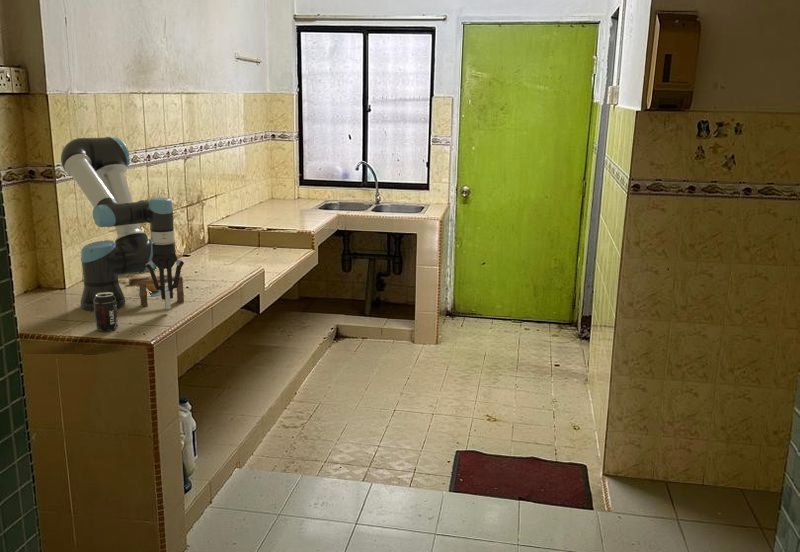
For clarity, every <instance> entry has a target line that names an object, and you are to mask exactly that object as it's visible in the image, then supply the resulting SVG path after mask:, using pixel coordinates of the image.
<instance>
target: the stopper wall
mask: <svg viewBox="0 0 800 552" xmlns="http://www.w3.org/2000/svg"><path fill="white" fill-rule="evenodd" d="M155 276H156V277H157V278H160V275H155ZM150 277H151V275H150V276H141V277H140V276H139V277H130V278H128V282H129V283H128V284H129V286H138V285H137V284H139V279H149V278H150ZM164 277H167V274H164Z"/></svg>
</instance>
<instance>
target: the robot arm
mask: <svg viewBox="0 0 800 552" xmlns="http://www.w3.org/2000/svg"><path fill="white" fill-rule="evenodd" d="M130 161H131V159H130V152H129V149H128V147H127V145H126V143H125V142H124V141H123V140H122V139H121V138H119V137H111V136H106V137H78V138H74V139H72V140H71V141H69V142H68V143H66V145H65V146H64V148H63V149H62V151H61V153H60V163H61V166H62V169H63V170H64V171H65V173H66V174H67V175H68V176H70V177H72V178H73V179H74V181H75V182H76V183H77V186H79V189H80V190H81V191H82V193H83V194H84V195H85V197H86V199H87V200H88V201H89V202H90V204H91V205H92V207H93V209H92V219H93V220H94V224H95V225H96V227H99V228H113V227H115V231H116V235H117V237H116V238H115V240H109V239H108V240H107V239H106V240H105V239H104V240H99V241H95V242H94V241H93V242H91V243H88V244H85V245H84V246H83V247H82V248H81V252H80V254H81V258H80V261H81V267H82V268H81V269H82V277H83V279H82V280H83V290H82V295H81V297H80V309H81V310H83V311H89V312H94V298H95V294H97V293H102V292H112V293H113V295H114V296H115V297H116V304H117V309H119V308H122V307H124V306H125V305H126V297H125V294H124V293H123V290H122V288H121V286H120V283H119V276H123V275H130V274H137V273H138V272H143V273H145V272H144V271H148V270H149V271H148V272H149V273H150V276H151V277H152V280H153V283H154V285H155V288H156V289H157V290H161V296H160V298H161V299H162V300H164V307H165V309H166V310H169V309H170V310H171V307H172V306H171V299H172V300H173V298H174V294H173V293H174V292H173V290H174V289H176V288H177V287H178V283H179V278H180V276H181V271H182V267H183V265H184V264H185V262H184V260H183V259H180V258H178V256H177V255H176V254H177V253H176V245H175V244H176V243H175V231H174V228H175V227H174V207H173V202H172V199H171V198H169V197H153V198H150V199H149V200H148V199H141V200H140V199H139V200H137V201H134V202H133V198H132V196H131V195H132V194H131V191H130V188H129V186H128V185H129V184H128V181H127V178H126V175H125V173H126V172H127V170H128V166H129V165H130ZM145 223H146V224H150V233H151V234H150V235H151V238H149V237H148V234H147V232H144V231H142V229H141V224H145ZM175 264H176V268H175V273H174V274H175V275H174V276H175V278H174V281H172V276H173V273H172V271H173V270H172V268H173V267H174V265H175ZM155 266H156V268H157V269H158V272H159V273H158V274H159V276H160V286H159V285H158V282H157V279H156V276H157V275H156V273H155V270H153V268H154V267H155ZM165 270H166V275H167V279H168V282H167V287H168V289H165V287H166V286H165V285H166V282H165V281H164V275H165Z"/></svg>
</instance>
